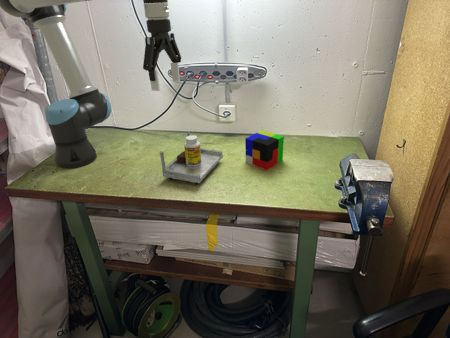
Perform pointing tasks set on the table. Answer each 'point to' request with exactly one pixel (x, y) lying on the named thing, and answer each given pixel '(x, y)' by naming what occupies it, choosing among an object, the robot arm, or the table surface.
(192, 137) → the supplement bottle
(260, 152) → the puzzle toy
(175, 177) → the cart
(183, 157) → the brick
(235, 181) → the table surface
